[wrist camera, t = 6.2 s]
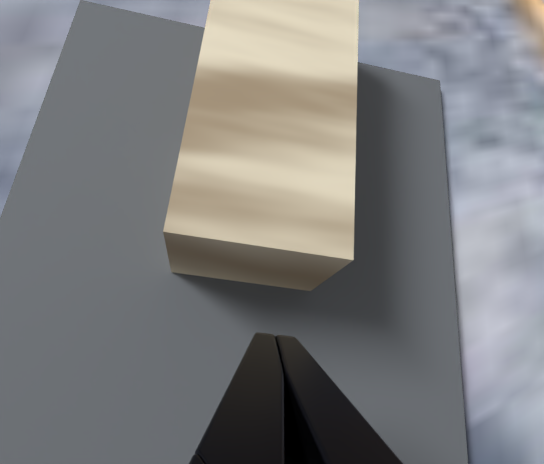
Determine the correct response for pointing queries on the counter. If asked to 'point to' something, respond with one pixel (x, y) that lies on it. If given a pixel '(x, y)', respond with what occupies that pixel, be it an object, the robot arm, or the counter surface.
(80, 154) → the rubber mat
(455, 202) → the counter surface
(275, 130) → the birch block
